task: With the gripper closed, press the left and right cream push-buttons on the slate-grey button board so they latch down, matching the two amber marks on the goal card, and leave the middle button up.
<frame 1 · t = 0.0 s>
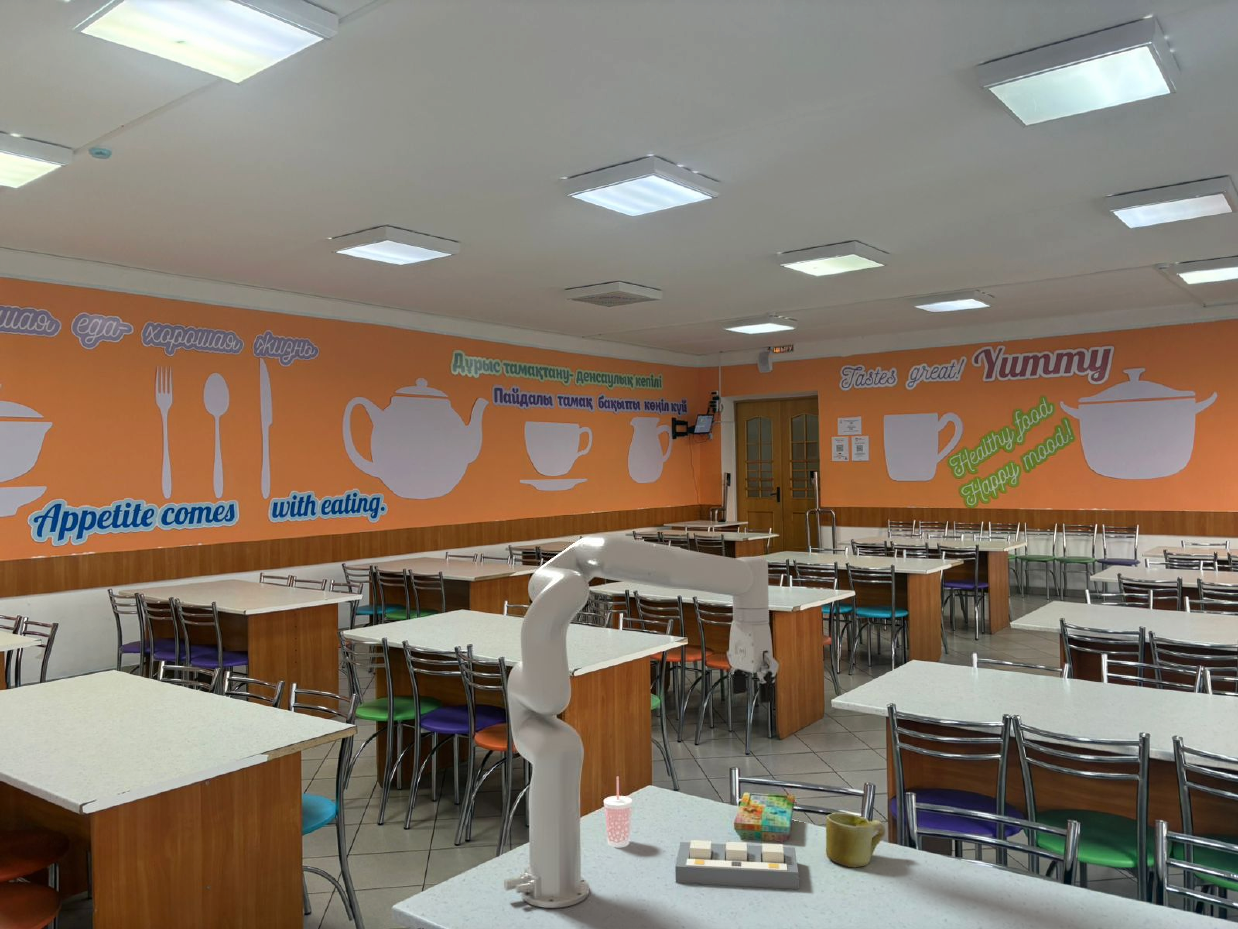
hand: (752, 697, 183), 31 cm above the table, fingers open, 9 cm apart
button right: (772, 855, 169), point 3 cm above the table, slide at 0.0 cm
beverage cup: (618, 844, 185), on the table
button left: (700, 852, 171), point 3 cm above the table, slide at 0.0 cm
button board: (736, 872, 170), on the table
mug: (857, 860, 176), on the table
button middle: (736, 854, 170), point 4 cm above the table, slide at 0.0 cm
puzzle game: (765, 827, 195), on the table
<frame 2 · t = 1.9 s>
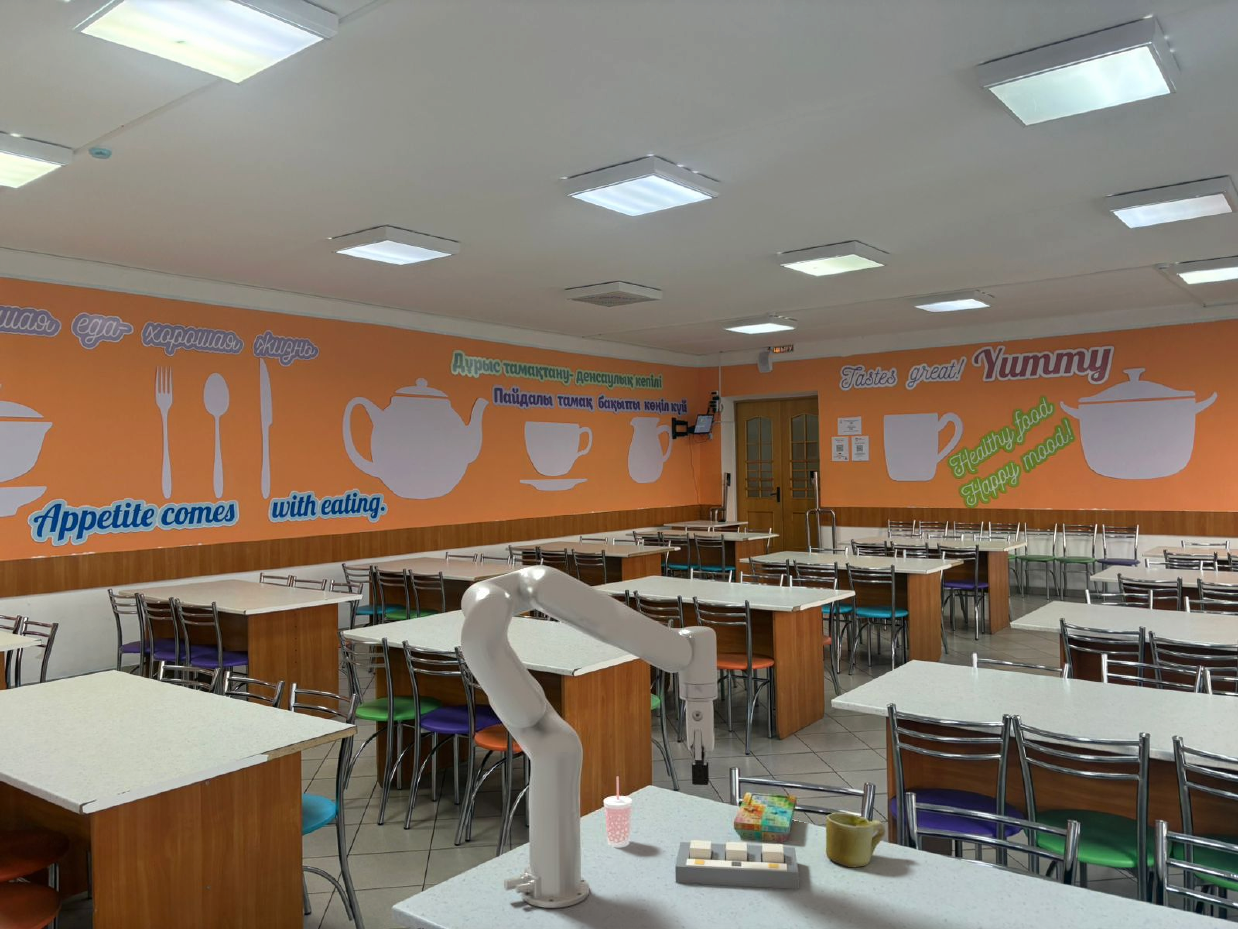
hand: (700, 783, 172), 17 cm above the table, fingers closed
nothing on the table moved.
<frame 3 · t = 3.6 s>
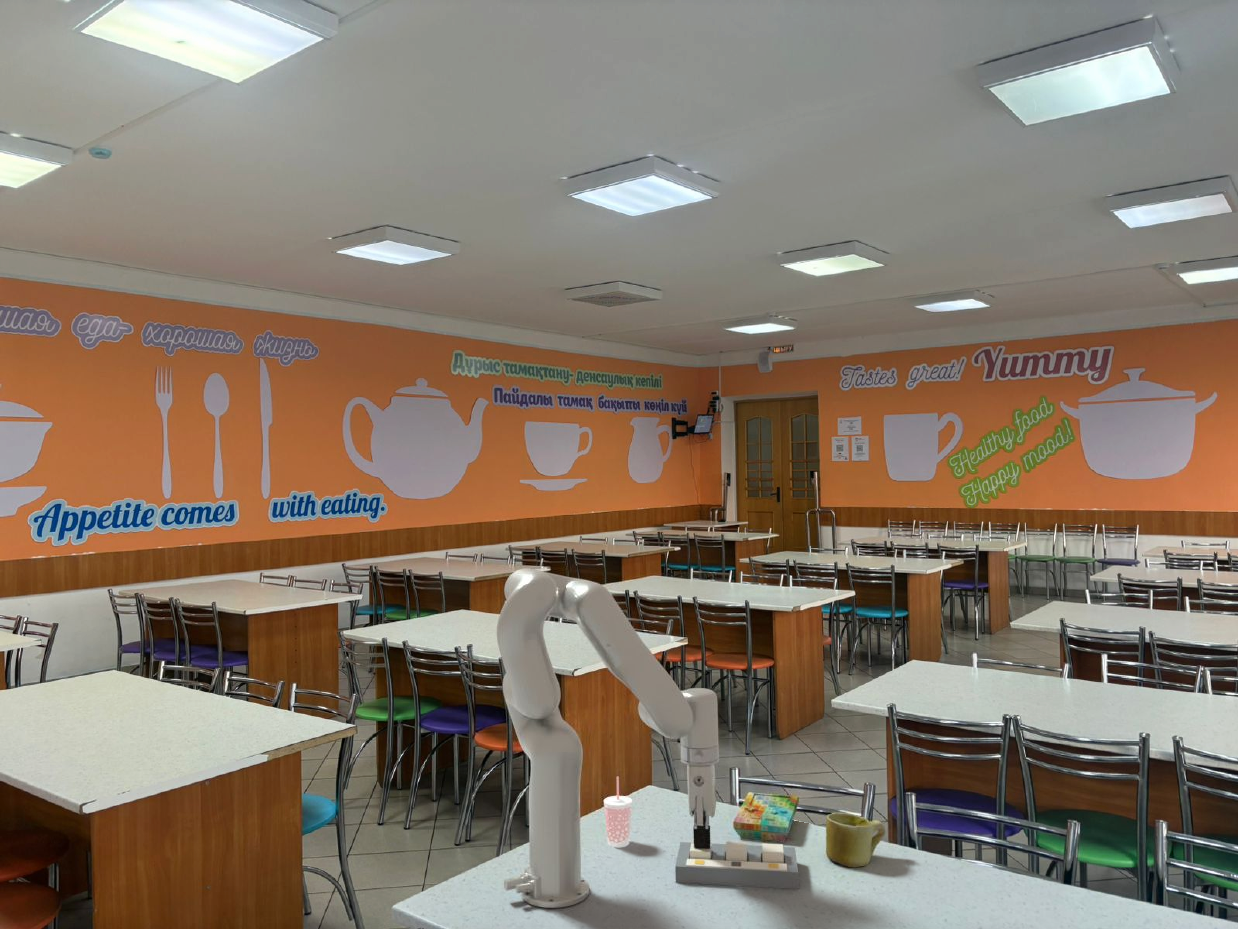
hand: (702, 847, 171), 4 cm above the table, fingers closed
button left: (700, 855, 171), point 3 cm above the table, slide at 0.6 cm, touching gripper
everything else where it was.
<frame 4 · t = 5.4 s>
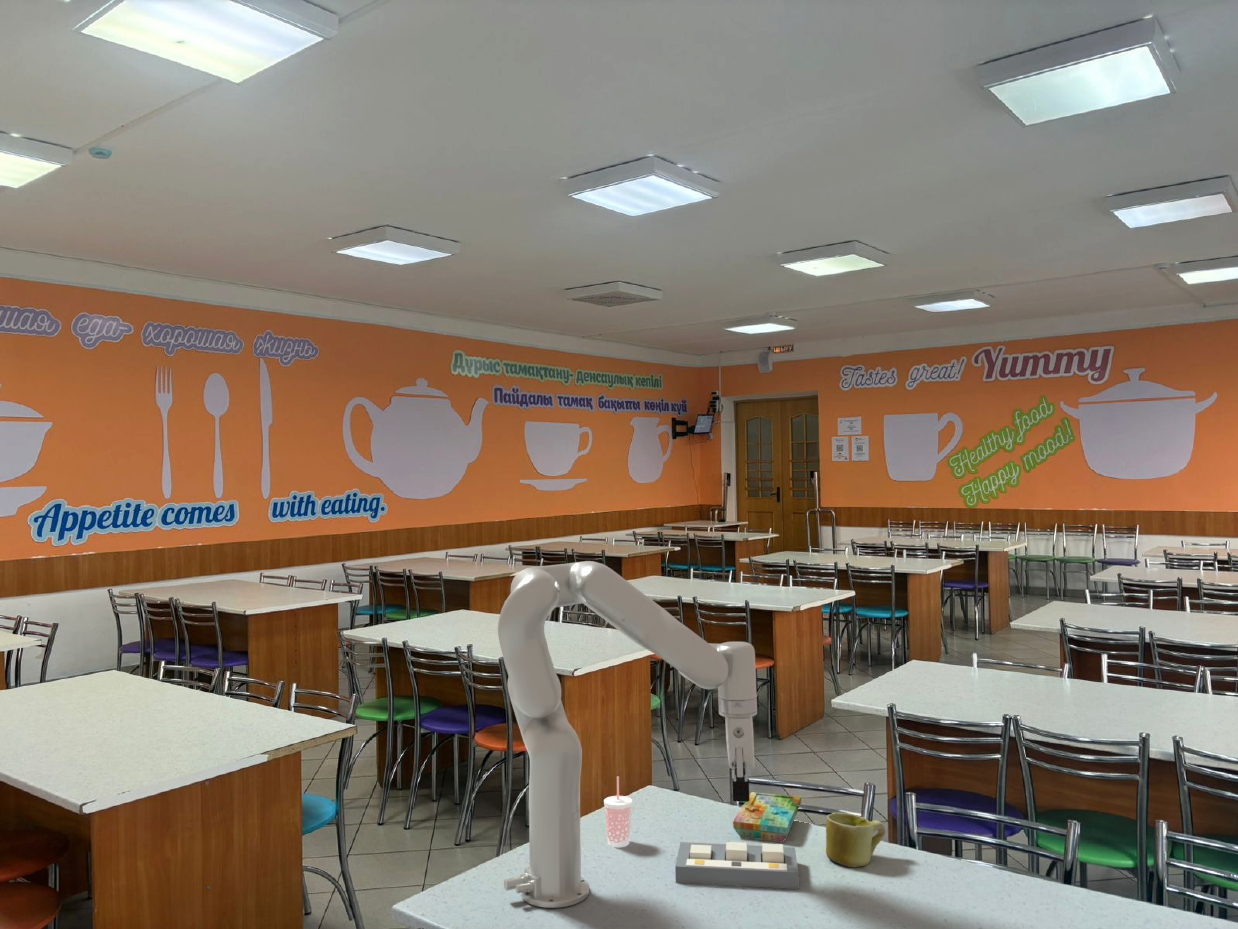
hand: (741, 800, 171), 14 cm above the table, fingers closed
button left: (700, 856, 171), point 3 cm above the table, slide at 0.9 cm
everything else where it was.
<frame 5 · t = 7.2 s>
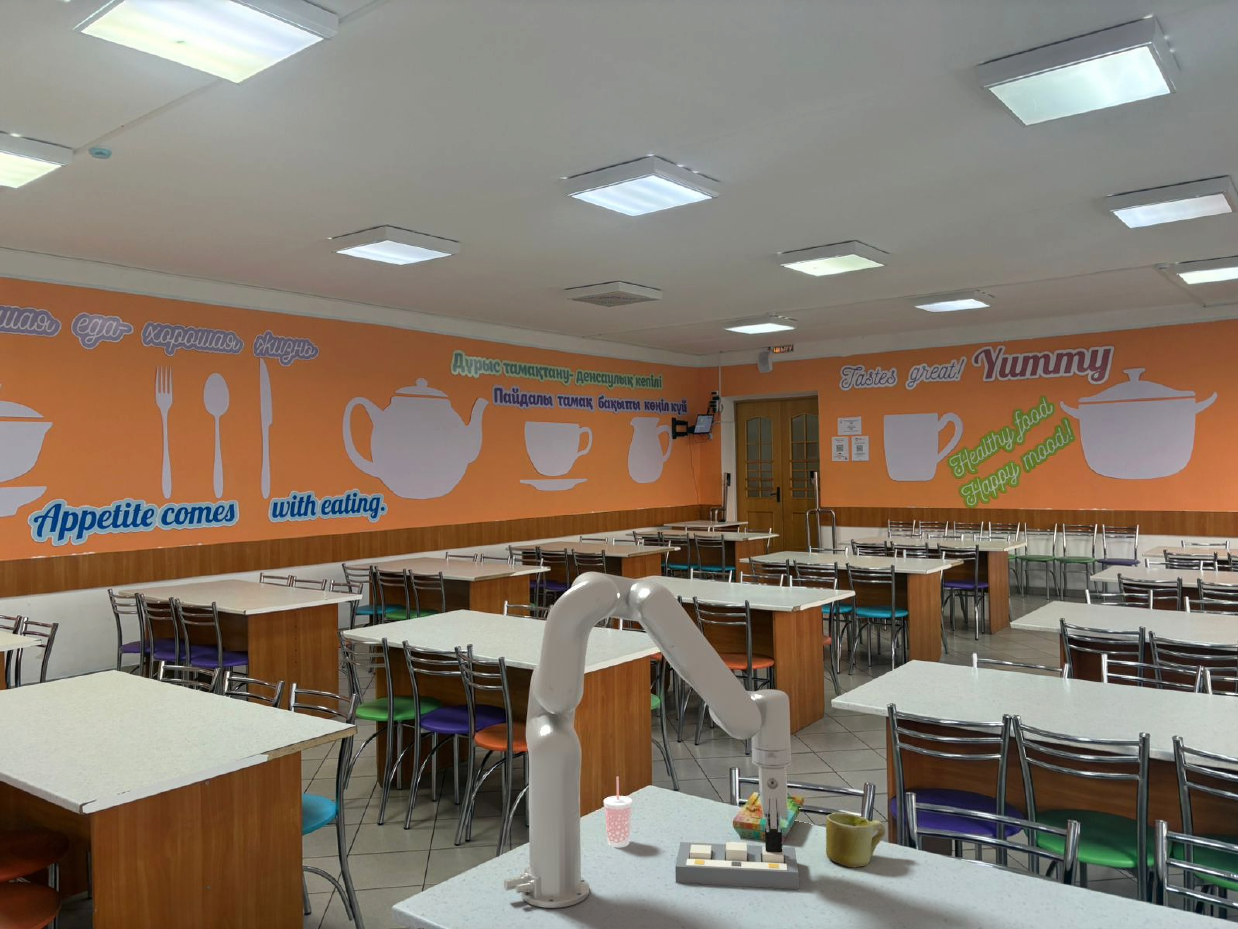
hand: (773, 850, 169), 4 cm above the table, fingers closed
button right: (772, 858, 169), point 3 cm above the table, slide at 0.5 cm, touching gripper
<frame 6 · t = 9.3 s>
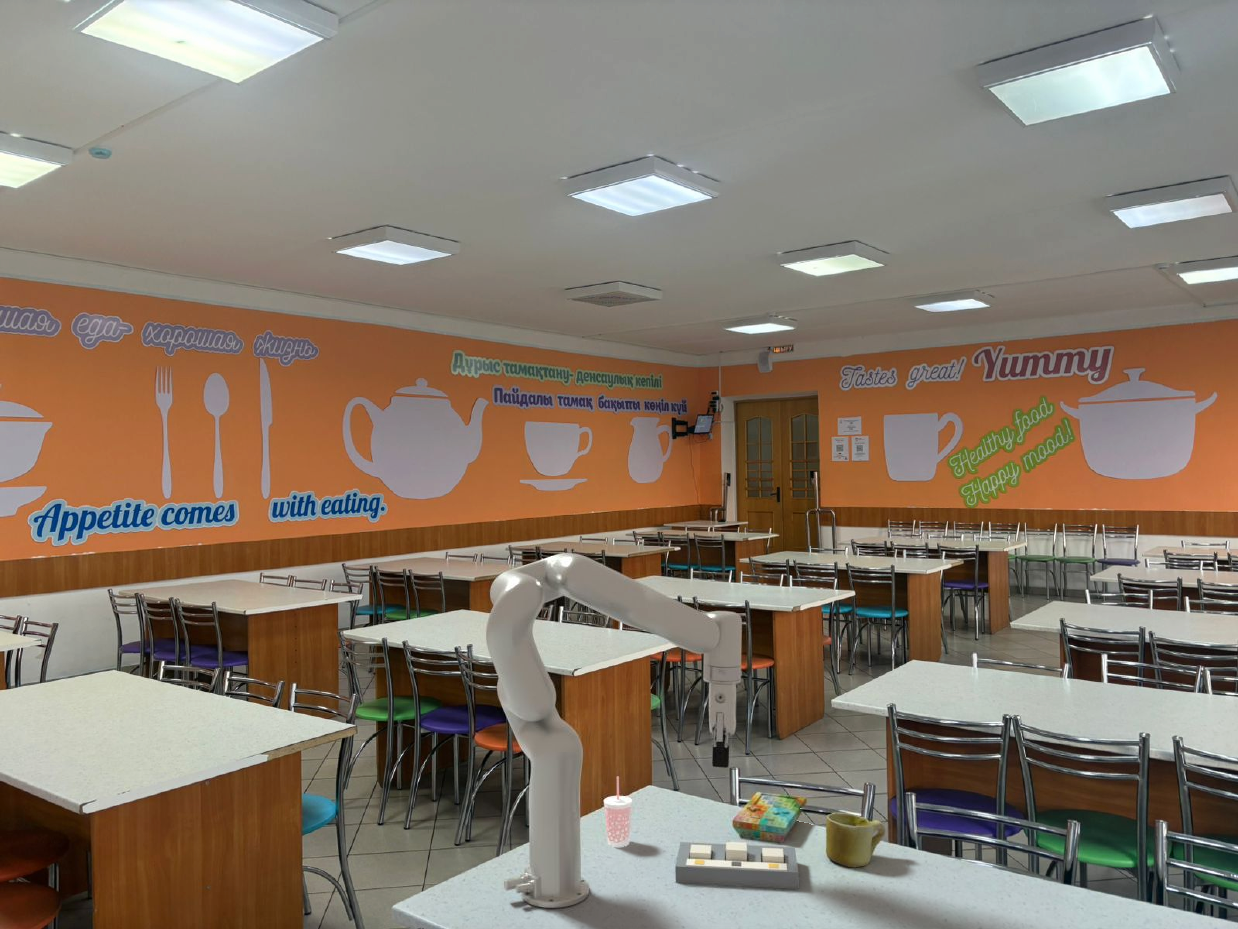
hand: (720, 766, 174), 20 cm above the table, fingers closed
button right: (772, 860, 169), point 3 cm above the table, slide at 0.8 cm
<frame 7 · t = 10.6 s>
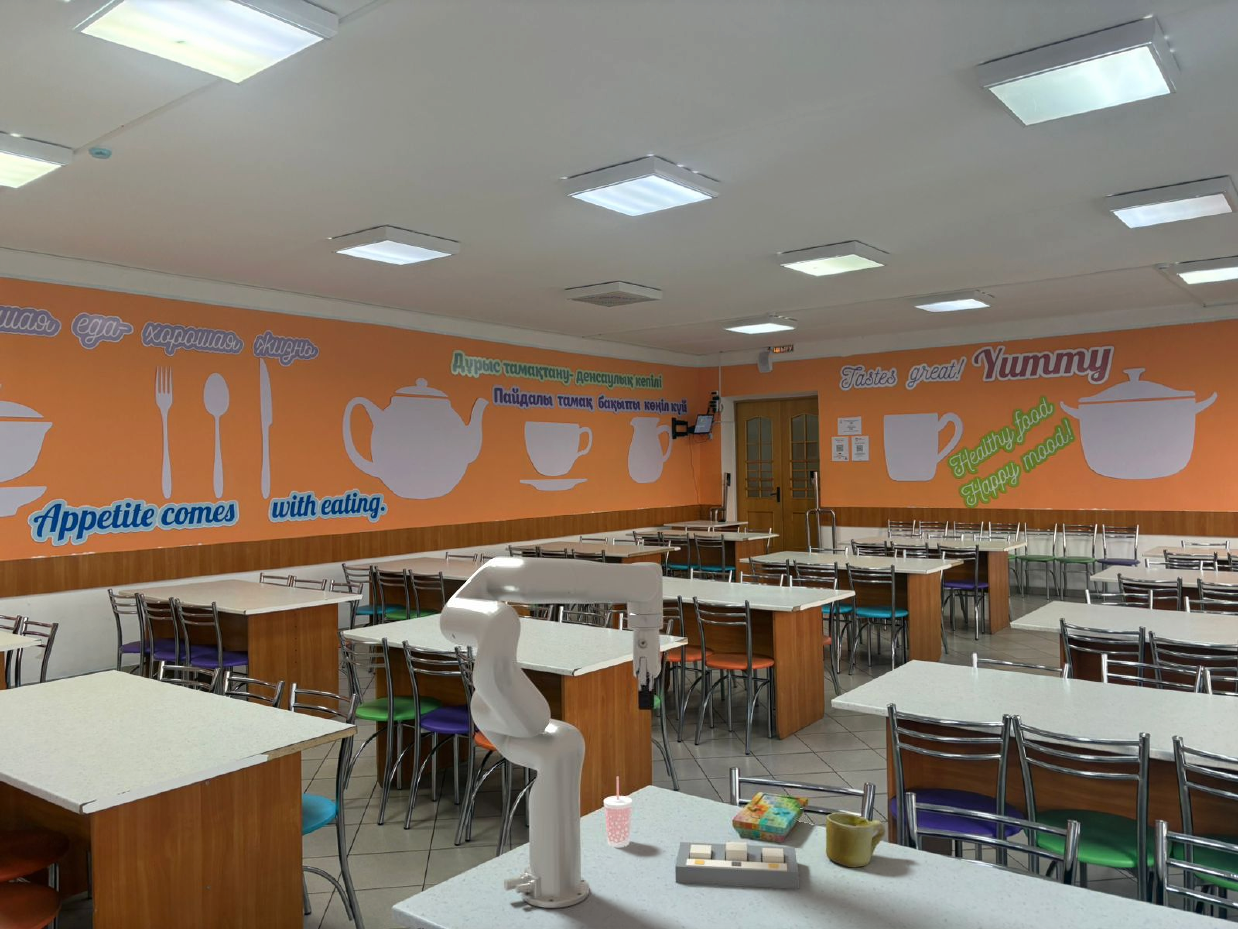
hand: (646, 708, 183), 29 cm above the table, fingers closed
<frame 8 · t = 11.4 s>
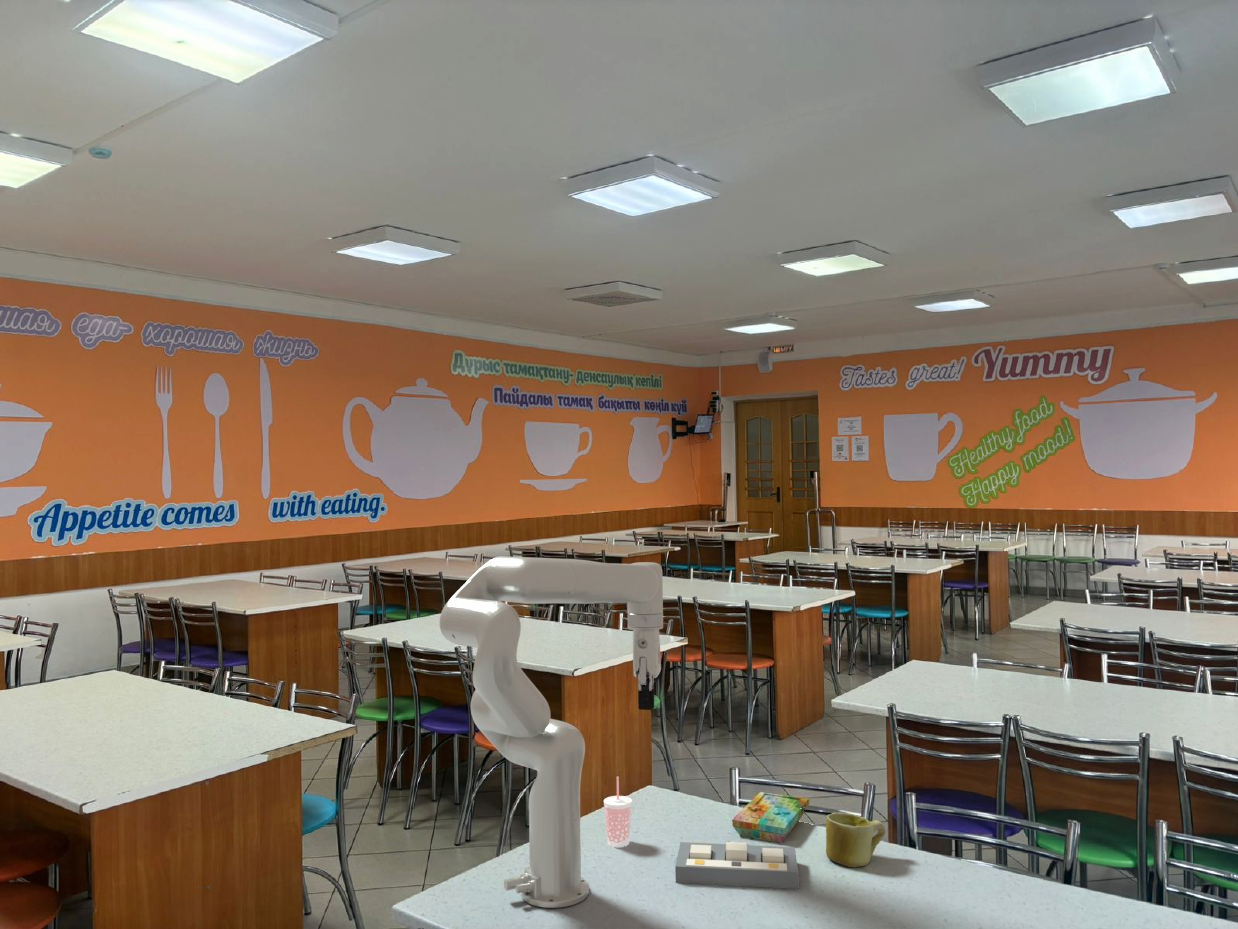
hand: (646, 708, 183), 29 cm above the table, fingers closed
at the end: button left slide at 0.9 cm; button right slide at 0.8 cm; button middle slide at 0.0 cm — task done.
